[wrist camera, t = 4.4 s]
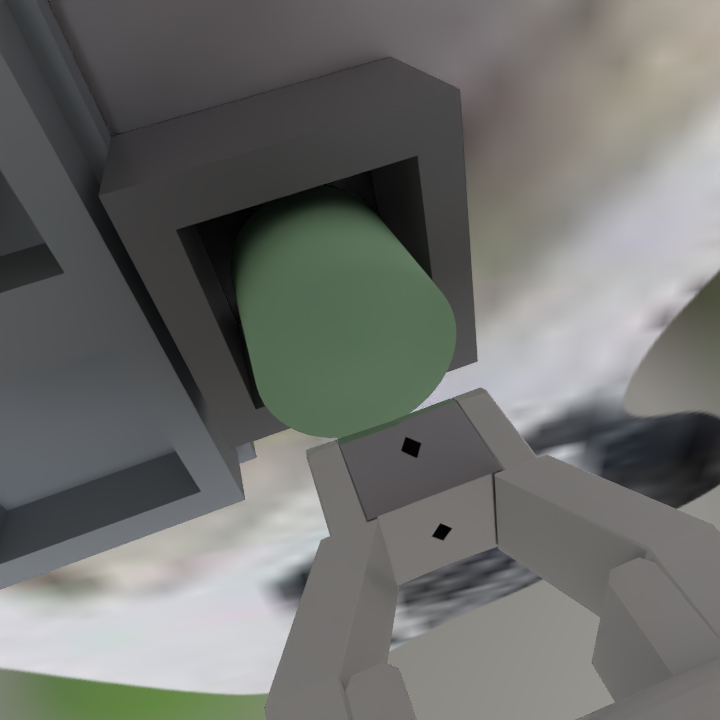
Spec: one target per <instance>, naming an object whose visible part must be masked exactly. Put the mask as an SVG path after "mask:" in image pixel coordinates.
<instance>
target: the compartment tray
mask: <svg viewBox="0 0 720 720" xmlns="http://www.w3.org/2000/svg"><path fill="white" fill-rule="evenodd" d="M110 141H111V134H110V132H109V130H108V128H107V126H106V124H105V121H104V119H103V117H102V115H101V113H100V111H99V109H98V107H97V104H96V102H95V100H94V98H93V96H92V94H91V92H90V90H89V87H88V85H87V83H86V81H85V79H84V77H83V75H82V73H81V71H80V68H79V66H78V64H77V62H76V60H75V58H74V56H73V54H72V51H71V49H70V47H69V45H68V43H67V41H66V39H65V37H64V34H63V32H62V30H61V28H60V26H59V24H58V22H57V20H56V17H55V15H54V13H53V11H52V9H51V7H50V5H49V3H48V1H47V0H0V589H3V588H6V587H8V586H11V585H14V584H17V583H19V582H22V581H25V580H27V579H30V578H33V577H36V576H38V575H41V574H44V573H47V572H49V571H52V570H55V569H57V568H60V567H63V566H66V565H68V564H71V563H74V562H77V561H79V560H82V559H85V558H87V557H90V556H93V555H96V554H98V553H101V552H104V551H107V550H109V549H112V548H115V547H117V546H120V545H123V544H126V543H128V542H131V541H134V540H136V539H139V538H142V537H145V536H147V535H150V534H153V533H156V532H158V531H161V530H164V529H166V528H169V527H172V526H175V525H177V524H180V523H183V522H186V521H188V520H191V519H194V518H196V517H199V516H202V515H205V514H207V513H210V512H213V511H216V510H218V509H221V508H224V507H226V506H229V505H232V504H235V503H237V502H240V501H243V500H245V496H244V490H243V484H242V477H241V471H240V465H239V464H240V463H243V462H245V461H248V460H251V459H254V458H256V453H255V448H254V443H253V441H252V442H249V443H246V444H244V445H241V446H238V447H235V448H232V449H230V447H229V445H228V443H227V441H226V439H225V437H224V435H223V433H222V432H221V430H220V428H219V426H218V424H217V422H216V420H215V418H214V416H213V414H212V412H211V411H210V409H209V407H208V405H207V403H206V401H205V399H204V397H203V395H202V393H201V391H200V389H199V388H198V386H197V384H196V382H195V380H194V378H193V376H192V374H191V372H190V370H189V368H188V367H187V365H186V363H185V361H184V359H183V357H182V355H181V353H180V351H179V349H178V347H177V346H176V344H175V342H174V340H173V338H172V336H171V334H170V332H169V330H168V328H167V326H166V324H165V323H164V321H163V319H162V317H161V315H160V313H159V311H158V309H157V307H156V305H155V303H154V302H153V300H152V298H151V296H150V294H149V292H148V290H147V288H146V286H145V284H144V282H143V281H142V279H141V277H140V275H139V273H138V271H137V269H136V267H135V265H134V263H133V261H132V259H131V258H130V256H129V254H128V252H127V250H126V248H125V246H124V244H123V242H122V240H121V238H120V237H119V235H118V233H117V231H116V229H115V227H114V225H113V223H112V221H111V219H110V217H109V216H108V214H107V212H106V210H105V208H104V206H103V204H102V202H101V200H100V198H99V191H100V187H101V182H102V178H103V173H104V169H105V164H106V159H107V155H108V150H109V146H110Z"/></svg>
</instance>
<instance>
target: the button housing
mask: <svg viewBox="0 0 720 720" xmlns="http://www.w3.org/2000/svg"><path fill="white" fill-rule="evenodd" d="M369 170H371V172H372V178H373V183H374V189H375V195H376V200H377V206H378V211H379V217H380V218H381V220H382V221H383V222H384V223H385V224H386V226H387V227H388V228H389V229H390V231H391V232H392V233H393V234H394V235H395V237H396V238H397V239H398V240H399V241H400V243H401V244H402V245H403V246H404V247H405V249H406V250H407V251H408V252H409V253H410V255H411V256H412V257H413V258H414V259H415V261H416V262H417V263H418V264H419V265H420V267H421V268H422V269H423V270H424V271H425V273H426V274H427V275H428V276H429V278H430V279H431V280H432V281H433V282H434V284H435V285H436V286H437V287H438V288H439V290H440V291H441V292H442V293H443V295H444V296H445V297H446V299H447V300H448V302H449V304H450V306H451V308H452V311H453V314H454V317H455V323H456V345H455V350H454V354H453V358H452V360H451V363H450V365H449V368H448V370H447V372H449V371H452V370H455V369H457V368H460V367H463V366H466V365H469V364H471V363H474V362H477V361H478V360H477V345H476V330H475V314H474V299H473V284H472V269H471V253H470V238H469V223H468V208H467V193H466V177H465V162H464V147H463V132H462V116H461V101H460V89H458V88H456V87H454V86H452V85H450V84H447V83H445V82H443V81H441V80H439V79H437V78H435V77H433V76H430V75H428V74H426V73H424V72H422V71H420V70H418V69H416V68H414V67H411V66H409V65H407V64H405V63H403V62H401V61H399V60H397V59H394V58H392V57H388V58H385V59H381V60H378V61H374V62H371V63H367V64H364V65H360V66H357V67H353V68H350V69H346V70H343V71H339V72H336V73H332V74H328V75H325V76H321V77H318V78H314V79H311V80H307V81H304V82H300V83H297V84H293V85H290V86H286V87H283V88H279V89H276V90H272V91H269V92H265V93H262V94H258V95H255V96H251V97H248V98H244V99H241V100H237V101H234V102H230V103H227V104H223V105H220V106H216V107H213V108H209V109H206V110H202V111H199V112H195V113H192V114H188V115H185V116H181V117H178V118H174V119H171V120H167V121H164V122H160V123H156V124H153V125H149V126H146V127H142V128H139V129H135V130H132V131H128V132H125V133H121V134H118V135H114V136H111V141H110V146H109V150H108V155H107V159H106V164H105V169H104V173H103V178H102V182H101V187H100V191H99V198H100V200H101V202H102V204H103V206H104V208H105V210H106V212H107V214H108V216H109V217H110V219H111V221H112V223H113V225H114V227H115V229H116V231H117V233H118V235H119V237H120V238H121V240H122V242H123V244H124V246H125V248H126V250H127V252H128V254H129V256H130V258H131V259H132V261H133V263H134V265H135V267H136V269H137V271H138V273H139V275H140V277H141V279H142V281H143V282H144V284H145V286H146V288H147V290H148V292H149V294H150V296H151V298H152V300H153V302H154V303H155V305H156V307H157V309H158V311H159V313H160V315H161V317H162V319H163V321H164V323H165V324H166V326H167V328H168V330H169V332H170V334H171V336H172V338H173V340H174V342H175V344H176V346H177V347H178V349H179V351H180V353H181V355H182V357H183V359H184V361H185V363H186V365H187V367H188V368H189V370H190V372H191V374H192V376H193V378H194V380H195V382H196V384H197V386H198V388H199V389H200V391H201V393H202V395H203V397H204V399H205V401H206V403H207V405H208V407H209V409H210V411H211V412H212V414H213V416H214V418H215V420H216V422H217V424H218V426H219V428H220V430H221V432H222V433H223V435H224V437H225V439H226V441H227V443H228V445H229V447H230V449H232V448H235V447H238V446H241V445H244V444H246V443H249V442H252V441H255V440H258V439H261V438H263V437H266V436H269V435H272V434H275V433H277V432H280V431H283V430H286V429H289V428H290V427H288V426H287V425H285V424H284V423H282V422H281V421H279V420H278V419H277V418H276V417H275V416H274V415H273V414H272V413H271V412H270V411H269V410H268V408H267V407H266V406H265V405H264V403H263V401H262V399H261V397H260V395H259V392H258V389H257V386H256V382H255V378H254V374H253V370H252V365H251V361H250V357H249V352H248V348H247V344H246V340H245V335H244V331H243V327H242V323H241V324H238V325H237V323H236V321H235V319H234V316H233V314H232V311H231V309H230V307H229V304H228V302H227V299H226V297H225V295H224V292H223V290H222V287H221V285H220V283H219V280H218V278H217V275H216V273H215V271H214V268H213V266H212V263H211V261H210V259H209V256H208V254H207V252H206V249H205V247H204V244H203V242H202V240H201V237H200V235H199V232H198V230H197V228H196V225H195V224H196V223H200V222H203V221H206V220H209V219H213V218H216V217H219V216H222V215H226V214H229V213H232V212H235V211H239V210H242V209H245V208H249V207H252V206H255V205H258V204H262V203H265V202H268V201H271V200H275V199H278V198H281V197H284V196H288V195H291V194H294V193H297V192H301V191H304V190H307V189H310V188H314V187H317V186H320V185H323V184H327V183H330V182H333V181H336V180H340V179H343V178H346V177H349V176H353V175H356V174H359V173H362V172H366V171H369Z"/></svg>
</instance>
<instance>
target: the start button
mask: <svg viewBox="0 0 720 720" xmlns="http://www.w3.org/2000/svg"><path fill="white" fill-rule="evenodd" d="M231 278H232V284H233V288H234V292H235V297H236V301H237V305H238V310H239V314H240V318H241V322H242V327H243V331H244V335H245V340H246V344H247V348H248V352H249V357H250V361H251V365H252V370H253V374H254V378H255V382H256V386H257V389H258V392H259V395H260V397H261V399H262V401H263V403H264V405H265V406H266V407H267V408H268V410H269V411H270V412H271V413H272V414H273V415H274V416H275V417H276V418H277V419H278V420H279V421H281V422H282V423H284V424H285V425H287V426H288V427H290V428H292V429H294V430H296V431H299V432H302V433H305V434H308V435H313V436H318V437H328V438H342V437H345V436H348V435H351V434H354V433H357V432H360V431H363V430H366V429H369V428H372V427H375V426H378V425H381V424H384V423H387V422H390V421H393V420H394V419H397V418H399V417H402V416H405V415H407V414H409V413H410V412H412V411H413V410H414V409H416V408H417V407H418V406H419V405H420V404H421V403H423V402H424V401H425V400H426V399H427V398H428V397H429V396H430V394H431V393H432V392H433V391H434V390H435V389H436V387H437V386H438V385H439V383H440V382H441V380H442V379H443V377H444V375H445V373H446V372H447V370H448V368H449V365H450V363H451V360H452V358H453V354H454V350H455V345H456V323H455V317H454V314H453V311H452V308H451V306H450V304H449V302H448V300H447V299H446V297H445V296H444V295H443V293H442V292H441V291H440V290H439V288H438V287H437V286H436V285H435V284H434V282H433V281H432V280H431V279H430V278H429V276H428V275H427V274H426V273H425V271H424V270H423V269H422V268H421V267H420V265H419V264H418V263H417V262H416V261H415V259H414V258H413V257H412V256H411V255H410V253H409V252H408V251H407V250H406V249H405V247H404V246H403V245H402V244H401V243H400V241H399V240H398V239H397V238H396V237H395V235H394V234H393V233H392V232H391V231H390V229H389V228H388V227H387V226H386V224H385V223H384V222H383V221H382V220H381V218H380V217H379V216H378V215H377V214H376V212H375V211H374V210H373V209H372V208H371V207H370V206H369V205H368V204H367V203H366V202H365V201H363V200H362V199H360V198H359V197H357V196H356V195H353V194H351V193H349V192H347V191H344V190H341V189H338V188H333V187H327V186H317V187H314V188H310V189H307V190H304V191H301V192H297V193H294V194H291V195H288V196H284V197H281V198H278V199H275V200H271V201H268V202H266V203H265V204H263V205H262V206H261V207H260V208H258V209H257V210H256V211H255V212H254V213H253V214H252V215H251V216H250V218H249V219H248V220H247V221H246V222H245V224H244V226H243V227H242V229H241V230H240V232H239V234H238V236H237V239H236V241H235V244H234V247H233V250H232V256H231Z"/></svg>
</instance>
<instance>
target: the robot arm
mask: <svg viewBox="0 0 720 720" xmlns="http://www.w3.org/2000/svg"><path fill="white" fill-rule="evenodd" d="M337 441H338V443H337ZM337 441H336V440H335V441H332V442H329V443H326V444H323V445H320V446H317V447H314V448H311V449H308V450H306V452H307V460H308V463H309V466H310V470H311V473H312V476H313V480H314V483H315V486H316V490H317V493H318V497H319V500H320V503H321V507H322V510H323V513H324V517H325V520H326V523H327V527H328V530H329V534H330V537H327V538H325V539H322V540H321V542H320V545H319V548H318V550H317V553H316V556H315V559H314V562H313V565H312V568H311V571H310V574H309V577H308V580H307V583H306V586H305V589H304V592H303V595H302V598H301V601H300V604H299V606H298V609H297V612H296V615H295V618H294V621H293V624H292V627H291V630H290V633H289V636H288V639H287V642H286V645H285V648H284V651H283V654H282V657H281V660H280V663H279V665H278V668H277V671H276V674H275V677H274V680H273V683H272V686H271V689H270V692H269V695H268V698H267V701H266V704H265V707H264V708H265V716H266V720H417V718H416V715H415V712H414V710H413V707H412V704H411V701H410V698H409V696H408V693H407V690H406V687H405V684H404V681H403V679H402V676H401V673H400V670H399V668H397V667H394V666H392V665H390V664H387V660H388V654H389V648H390V642H391V635H392V629H393V623H394V617H395V610H396V604H397V598H398V592H399V588H398V585H400V584H403V583H405V582H408V581H410V580H412V579H415V578H417V577H419V576H422V575H424V574H426V573H429V572H431V571H433V570H436V569H438V568H440V567H443V566H445V565H447V564H450V563H453V562H456V561H458V560H461V559H464V558H467V557H469V556H472V555H475V554H478V553H480V552H483V551H486V550H489V549H491V548H494V547H497V546H498V549H499V550H501V551H502V552H504V553H505V554H507V555H508V556H510V557H511V558H513V559H514V560H516V561H517V562H519V563H520V564H522V565H523V566H524V567H526V568H527V569H529V570H530V571H532V572H533V573H535V574H536V575H538V576H539V577H541V578H542V579H544V580H545V581H547V582H548V583H550V584H552V585H553V586H554V587H556V588H557V589H559V590H560V591H562V592H563V593H565V594H566V595H568V596H569V597H571V598H572V599H574V600H575V601H577V602H578V603H580V604H581V605H583V606H584V607H586V608H587V609H589V610H590V611H592V612H593V613H595V614H596V615H598V616H599V617H600V623H599V628H598V633H597V638H596V643H595V648H594V653H593V658H592V664H593V666H594V668H595V669H596V671H597V673H598V674H599V676H600V678H601V679H602V681H603V683H604V684H605V686H606V688H607V689H608V691H609V693H610V694H611V696H612V698H613V699H614V701H615V703H613V704H610V705H608V706H606V707H604V708H601V709H599V710H597V711H595V712H592V713H590V714H588V715H585V716H583V717H581V718H579V719H577V720H720V532H719V530H718V529H717V528H716V527H715V526H714V525H712V524H710V523H708V522H705V521H703V520H701V519H698V518H696V517H693V516H691V515H689V514H686V513H684V512H682V511H679V510H677V509H675V508H672V507H670V506H667V505H665V504H663V503H660V502H658V501H656V500H653V499H651V498H649V497H646V496H644V495H641V494H639V493H637V492H634V491H632V490H630V489H627V488H625V487H623V486H620V485H618V484H615V483H613V482H611V481H608V480H606V479H604V478H601V477H599V476H597V475H594V474H592V473H589V472H587V471H585V470H582V469H580V468H578V467H575V466H573V465H571V464H568V463H566V462H563V461H561V460H559V459H556V458H554V457H552V456H549V455H547V454H546V455H543V456H541V457H537V456H536V455H535V453H534V452H533V451H532V449H531V448H530V447H529V445H528V444H527V443H526V442H525V440H524V439H523V438H522V436H521V435H520V434H519V432H518V431H517V430H516V428H515V427H514V426H513V425H512V423H511V422H510V421H509V419H508V418H507V417H506V415H505V414H504V413H503V411H502V410H501V409H500V408H499V406H498V405H497V404H496V402H495V401H494V400H493V398H492V397H491V396H490V394H489V393H488V392H487V390H485V389H483V388H478V389H475V390H473V391H470V392H467V393H464V394H462V395H459V396H456V397H454V398H452V399H448V400H445V401H442V402H440V403H437V404H434V405H432V406H429V407H426V408H424V409H421V410H418V411H415V412H413V413H410V414H407V415H405V416H402V417H399V418H397V419H394V420H393V421H390V422H387V423H384V424H381V425H378V426H375V427H372V428H369V429H366V430H363V431H360V432H357V433H354V434H351V435H348V436H345V437H342V438H339V439H337ZM338 444H339V445H338Z"/></svg>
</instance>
